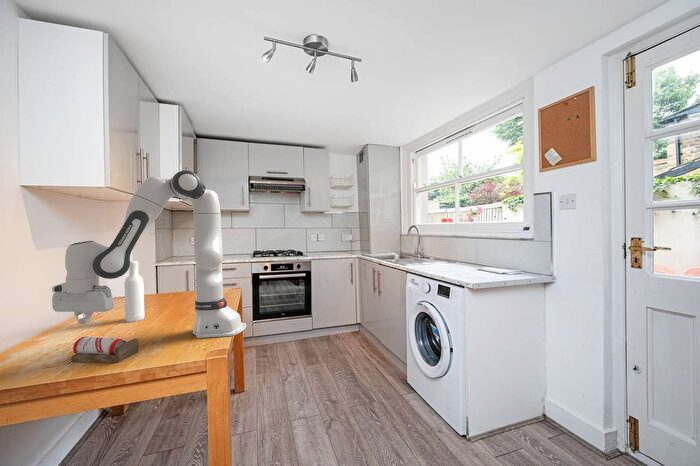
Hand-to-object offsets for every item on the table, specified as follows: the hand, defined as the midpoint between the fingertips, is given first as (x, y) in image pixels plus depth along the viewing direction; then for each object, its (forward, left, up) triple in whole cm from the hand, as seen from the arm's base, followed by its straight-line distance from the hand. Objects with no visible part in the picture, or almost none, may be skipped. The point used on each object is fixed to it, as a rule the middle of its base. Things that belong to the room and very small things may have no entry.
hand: (84, 323), depth 103 cm
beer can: (+2, 0, -8) cm, 9 cm away
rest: (-8, 0, -12) cm, 15 cm away
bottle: (+16, -41, -12) cm, 46 cm away
